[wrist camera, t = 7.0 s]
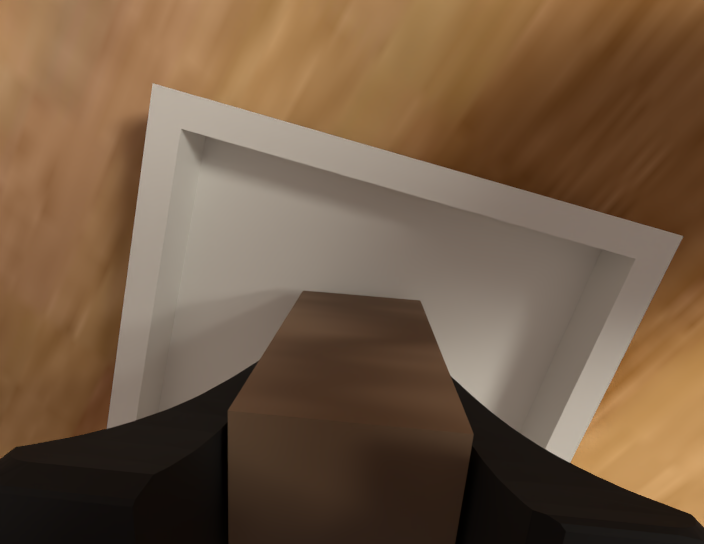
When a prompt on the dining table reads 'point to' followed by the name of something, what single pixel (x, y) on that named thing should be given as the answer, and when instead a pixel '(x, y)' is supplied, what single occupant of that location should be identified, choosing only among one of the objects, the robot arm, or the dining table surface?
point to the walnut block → (348, 430)
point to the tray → (369, 266)
